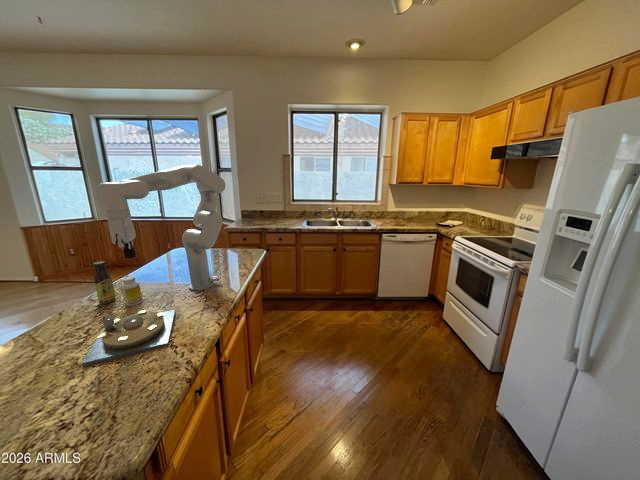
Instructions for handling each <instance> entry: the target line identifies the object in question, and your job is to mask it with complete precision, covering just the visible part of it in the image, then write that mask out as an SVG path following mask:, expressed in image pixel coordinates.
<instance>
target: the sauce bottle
mask: <svg viewBox="0 0 640 480" xmlns="http://www.w3.org/2000/svg"><path fill="white" fill-rule="evenodd" d="M93 267H94V269H95V274H94V277H93V281H94V286H95V290H96V295H97V300H98V302H99V304H100V305H107V304H111V303H113V302H115V301H116V293H115V292H116V291H115V288H114V284H113V283H114V282H113V278H112V276H111V275H110V273H109V272H108V270H107V268H106V262H105V261H104V260H103V261H97V262H94V263H93Z"/></svg>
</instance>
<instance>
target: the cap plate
mask: <svg viewBox="0 0 640 480" xmlns="http://www.w3.org/2000/svg"><path fill="white" fill-rule="evenodd" d="M160 313H162V314H163V318H164V323H165V325H164V327H163V329H162V330H161V331H160V332H159V333H158V334H157V335H156V336H154V337H153V338H151V339H149V340H147V341H145V342H143V343H140V344H138V345H135V346H131V347H127V348H121V349H111V348H107V347H105V346H104V345H103V342H102V338H101V335H100V334H102V332H103V331H104V329H105V328H103V329H102V331H101V332H100V334H99V335H97V336H96V339H95V341H94V342H93V345H92V346H91V348H90V349H89V351H88V352H87V353H86V355H85V357H84V358H83V360H82V361H81V362H80V363H81V367H82V368H85V367H89V366H93V365H96V364H100V363H106V362H109V361H110V362H111V361H114V360H118V359H122V358H126V357H130V356H131V357H132V356H134V355H138V354H142V353H147V352H151V351H155V350H159V349H164V348H166V347H167V348H168V347H169V345H170V340H171V335H172V332H173V327H174V321H175V317H176V309H171V310H168V311H166V310H165V311H163V312H160Z"/></svg>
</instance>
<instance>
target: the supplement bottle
mask: <svg viewBox="0 0 640 480" xmlns="http://www.w3.org/2000/svg"><path fill="white" fill-rule="evenodd" d="M121 291H122V296H123V299H124V304H125V305H126V306H128V307H131V306H132V307H134V306H137V305H139V304H141V303H142V302H143V296H142V292H141V286H140V283H139V281H137V280H136V277H135V276H133V275H132V276H131V275H129V276H127V277H123V278H122V285H121Z"/></svg>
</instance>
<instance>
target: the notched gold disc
mask: <svg viewBox="0 0 640 480" xmlns="http://www.w3.org/2000/svg"><path fill="white" fill-rule="evenodd" d="M147 310H148V309H147ZM147 310H146V309H145V310H139V312H136V313H134V314H130V315H127V316H125V317H121V318H115V319H114V317H112V316H109V317H106V318H103V320H102V324H103V327H104V328H105V329H104V328H103V329H104V331H103V330H102V331H103V332H102V331H101V332H102V334H101V333H100V334H99V335H101V338H102V342H103V345H104V346H105V347H107V348H111V349H121V348H127V347H131V346H135V345H138V344H140V343H143V342H145V341H147V340H149V339H151V338H153V337H154V336H156V335H157V334H158V333H159V332H160V331H161V330H162V329H163V327H164V325H165V323H164V318H163V314H162V313H161V312H157V311H147Z"/></svg>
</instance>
